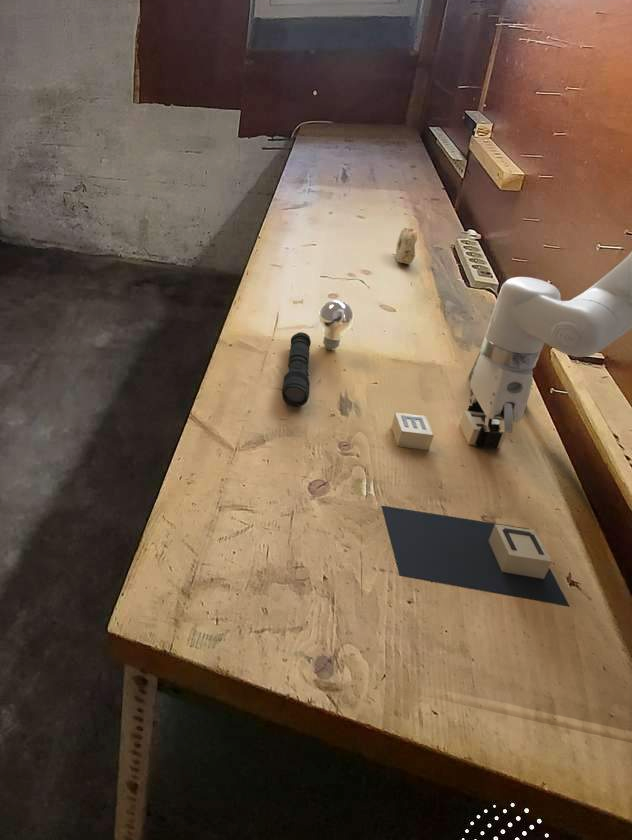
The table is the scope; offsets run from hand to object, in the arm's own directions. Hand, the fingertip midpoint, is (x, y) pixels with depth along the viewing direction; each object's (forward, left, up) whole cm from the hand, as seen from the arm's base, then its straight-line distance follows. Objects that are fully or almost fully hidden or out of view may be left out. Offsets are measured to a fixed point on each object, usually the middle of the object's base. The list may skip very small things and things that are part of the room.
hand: (479, 434), depth 100 cm
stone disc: (-4, -75, -1) cm, 75 cm away
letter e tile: (+12, +3, 0) cm, 12 cm away
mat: (+10, +26, 0) cm, 28 cm away
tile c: (+4, +26, 0) cm, 26 cm away
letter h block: (0, 0, 0) cm, 0 cm away
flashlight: (+30, -12, -1) cm, 32 cm away
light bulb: (+22, -24, -1) cm, 33 cm away
